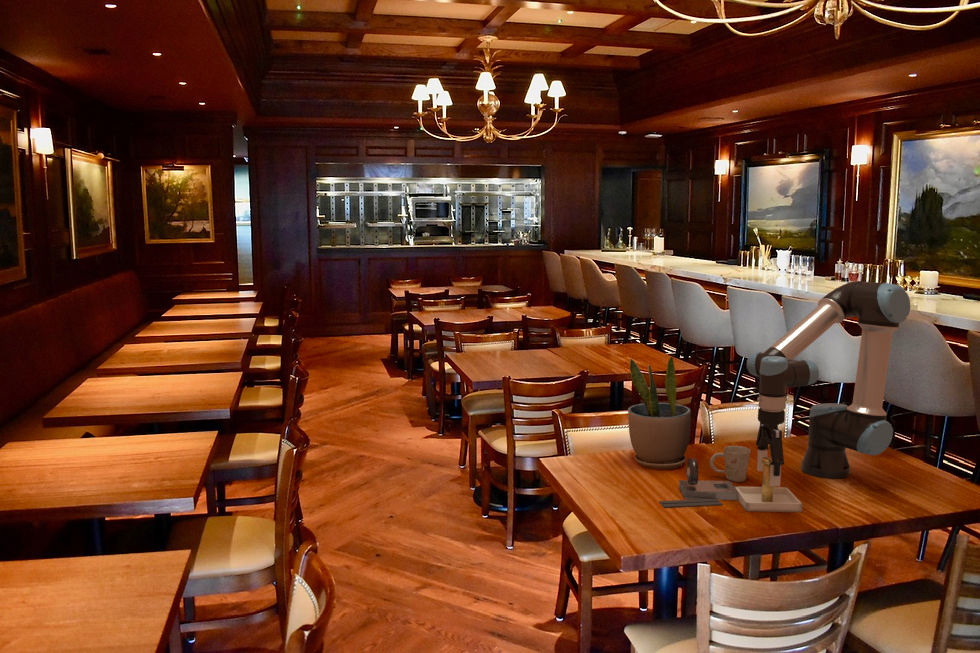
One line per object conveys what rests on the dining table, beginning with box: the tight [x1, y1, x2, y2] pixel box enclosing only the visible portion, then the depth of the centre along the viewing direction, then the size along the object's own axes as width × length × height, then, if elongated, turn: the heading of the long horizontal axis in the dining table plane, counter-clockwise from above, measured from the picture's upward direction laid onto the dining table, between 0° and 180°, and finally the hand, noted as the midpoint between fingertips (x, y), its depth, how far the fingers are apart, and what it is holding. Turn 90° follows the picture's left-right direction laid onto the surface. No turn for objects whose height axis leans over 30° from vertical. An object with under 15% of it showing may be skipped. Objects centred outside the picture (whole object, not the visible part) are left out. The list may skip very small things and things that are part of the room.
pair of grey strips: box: [658, 499, 723, 509], centre depth 238 cm, size 18×5×1 cm, turn 97°
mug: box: [709, 445, 751, 483], centre depth 260 cm, size 8×13×10 cm, turn 78°
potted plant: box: [627, 355, 692, 470], centre depth 274 cm, size 21×22×40 cm
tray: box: [735, 486, 803, 513], centre depth 238 cm, size 16×14×2 cm
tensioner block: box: [678, 458, 739, 501], centre depth 245 cm, size 16×10×11 cm, turn 87°
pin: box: [761, 456, 774, 502], centre depth 237 cm, size 4×4×13 cm
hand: (768, 478), depth 237 cm, fingers open, 13 cm apart
